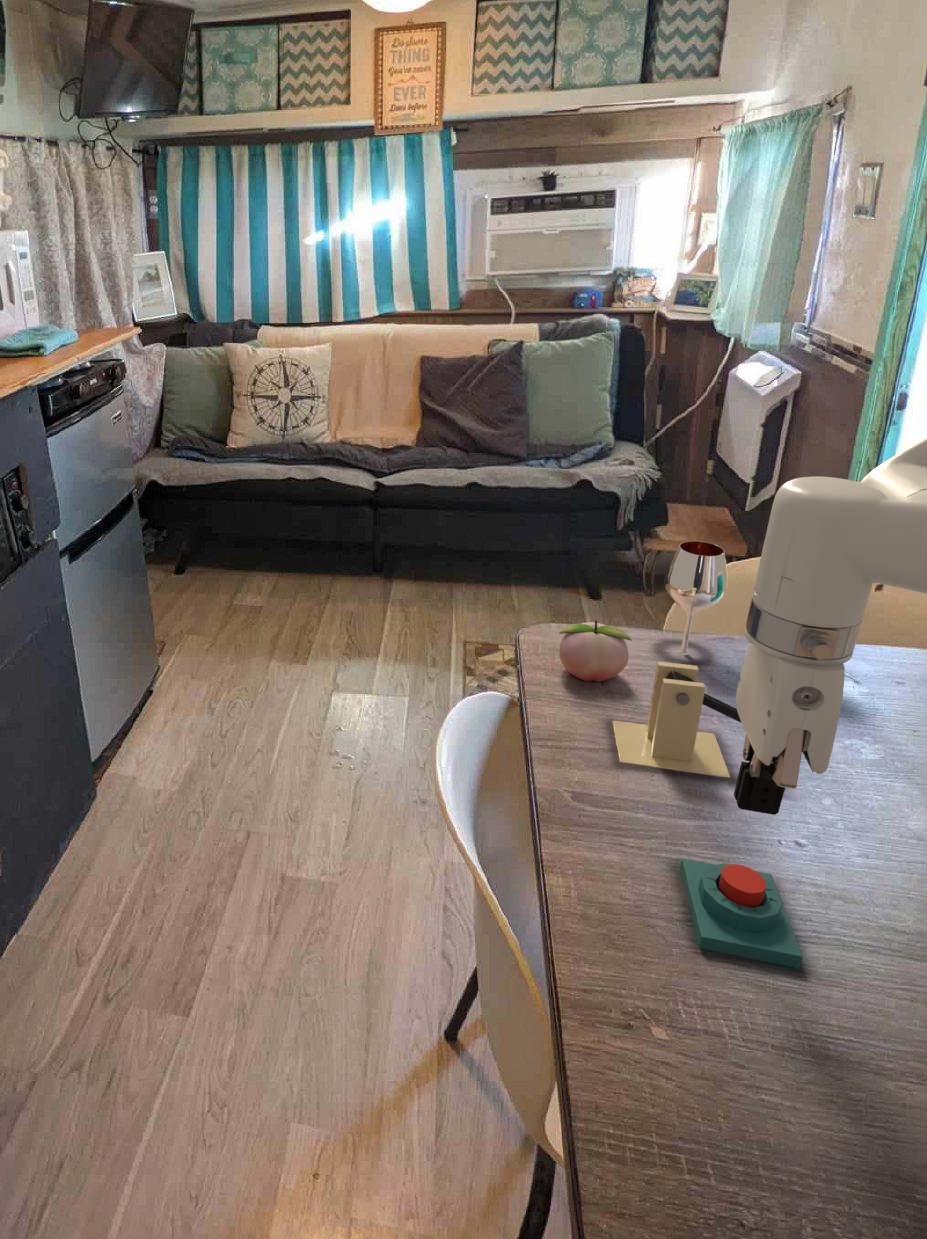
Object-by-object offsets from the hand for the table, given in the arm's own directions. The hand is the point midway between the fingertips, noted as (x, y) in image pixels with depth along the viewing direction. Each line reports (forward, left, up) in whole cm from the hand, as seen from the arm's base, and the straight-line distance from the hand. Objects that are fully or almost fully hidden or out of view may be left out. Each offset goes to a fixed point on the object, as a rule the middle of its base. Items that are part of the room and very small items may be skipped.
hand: (755, 805), depth 73 cm
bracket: (+2, -26, -14) cm, 29 cm away
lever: (-2, -26, -7) cm, 27 cm away
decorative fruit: (+10, -42, -14) cm, 45 cm away
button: (0, 0, -10) cm, 10 cm away
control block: (0, 0, -14) cm, 14 cm away
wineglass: (-4, -52, -14) cm, 54 cm away
